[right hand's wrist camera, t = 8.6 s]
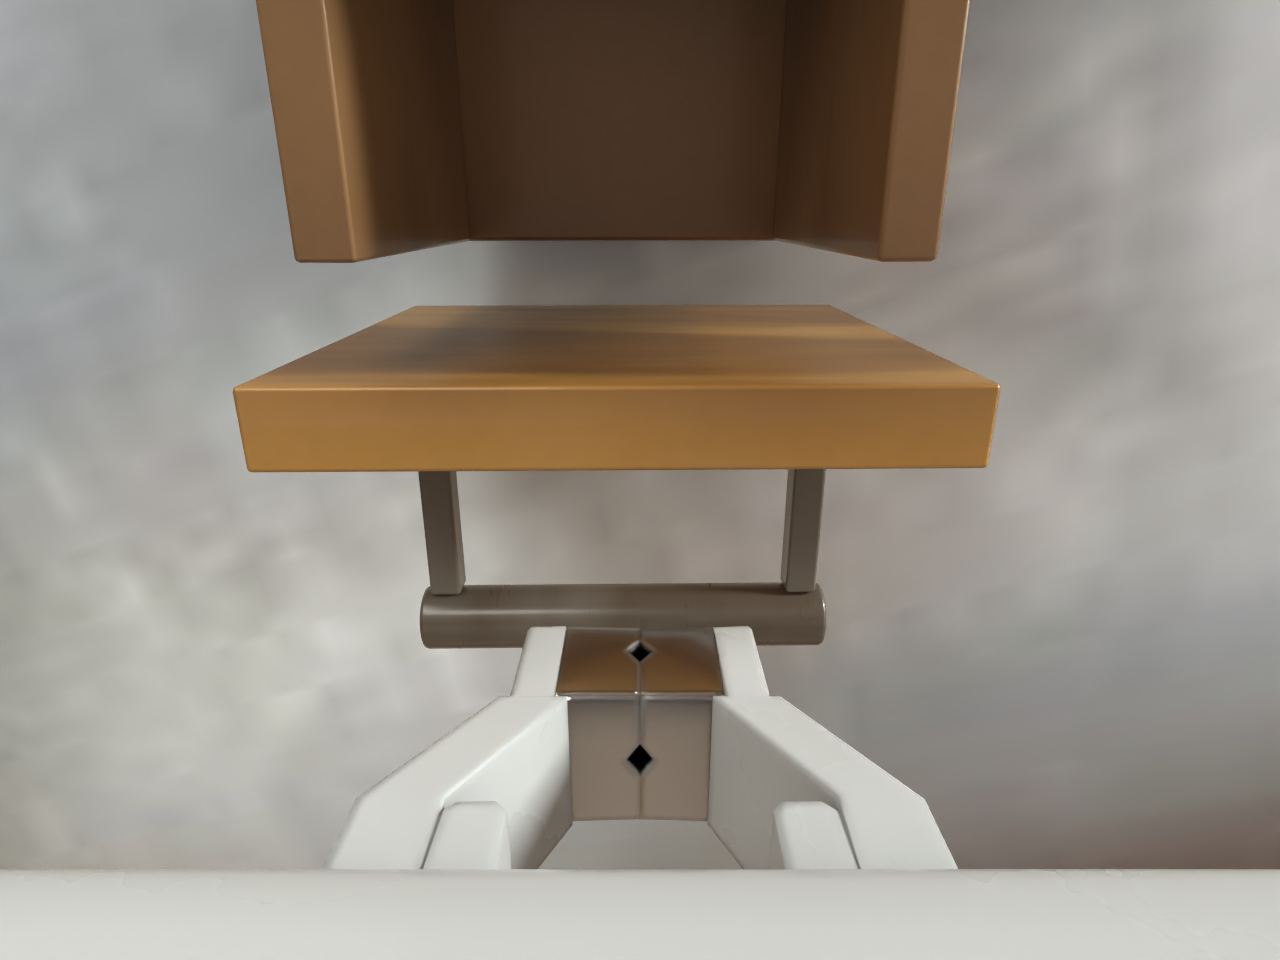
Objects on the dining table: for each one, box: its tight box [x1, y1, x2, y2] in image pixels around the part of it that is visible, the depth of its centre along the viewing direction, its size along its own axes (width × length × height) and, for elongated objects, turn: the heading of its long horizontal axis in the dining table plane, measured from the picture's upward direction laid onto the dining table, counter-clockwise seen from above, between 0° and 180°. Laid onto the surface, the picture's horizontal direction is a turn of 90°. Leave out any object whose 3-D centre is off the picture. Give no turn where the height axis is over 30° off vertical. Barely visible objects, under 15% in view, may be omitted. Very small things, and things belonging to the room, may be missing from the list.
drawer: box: [233, 0, 1000, 649], centre depth 12 cm, size 22×10×9 cm, turn 0°
